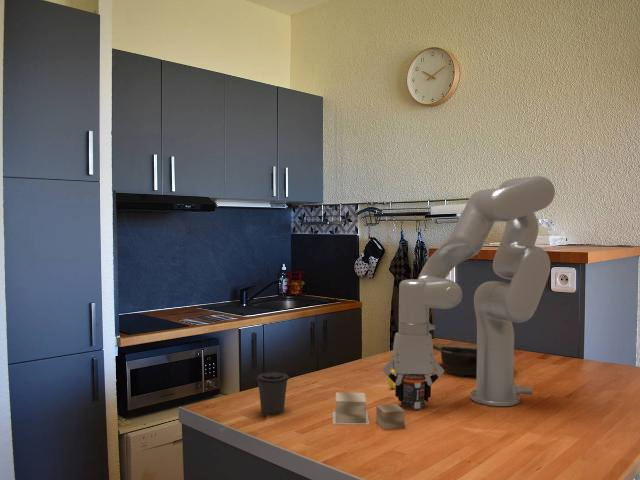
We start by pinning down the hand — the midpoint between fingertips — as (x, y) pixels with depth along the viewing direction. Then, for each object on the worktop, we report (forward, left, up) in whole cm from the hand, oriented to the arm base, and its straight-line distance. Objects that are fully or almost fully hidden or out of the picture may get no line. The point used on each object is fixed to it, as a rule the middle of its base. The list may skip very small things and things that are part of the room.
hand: (412, 399), depth 144 cm
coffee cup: (+35, +5, -3) cm, 35 cm away
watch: (+2, -19, -3) cm, 19 cm away
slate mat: (+14, +8, -3) cm, 16 cm away
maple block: (+16, +9, -2) cm, 18 cm away
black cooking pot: (-24, -40, -3) cm, 47 cm away
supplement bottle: (0, 0, -3) cm, 3 cm away
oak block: (+7, +13, -2) cm, 15 cm away
